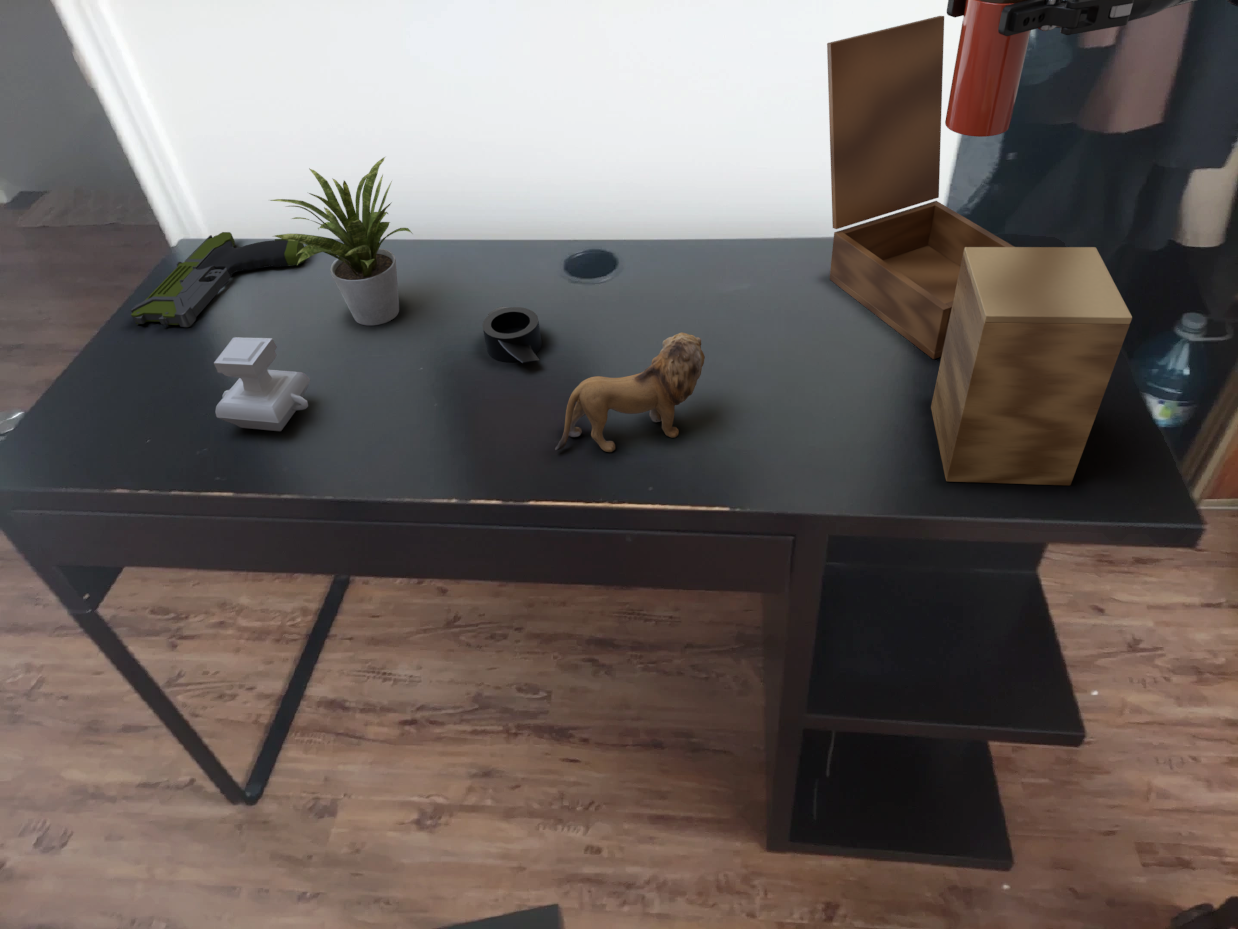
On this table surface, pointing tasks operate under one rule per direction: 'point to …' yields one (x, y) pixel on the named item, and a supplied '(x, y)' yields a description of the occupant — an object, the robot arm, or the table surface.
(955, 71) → the spice jar
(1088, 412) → the oak stand
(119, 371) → the table surface
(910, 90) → the box lid
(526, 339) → the duct tape
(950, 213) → the wooden box
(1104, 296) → the cork trivet
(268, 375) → the stamp
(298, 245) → the gun
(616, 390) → the lion figurine
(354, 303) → the house plant
